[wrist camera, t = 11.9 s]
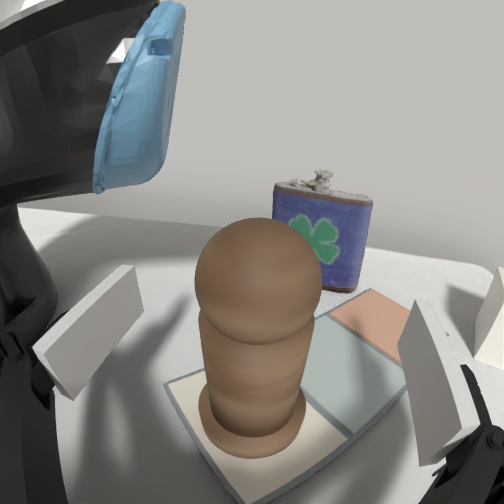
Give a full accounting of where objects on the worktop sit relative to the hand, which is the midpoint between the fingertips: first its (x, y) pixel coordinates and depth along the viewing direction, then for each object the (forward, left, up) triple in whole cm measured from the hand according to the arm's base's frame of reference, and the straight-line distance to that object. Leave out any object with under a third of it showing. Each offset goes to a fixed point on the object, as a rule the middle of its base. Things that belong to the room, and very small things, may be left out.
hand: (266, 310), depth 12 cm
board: (+1, +5, -6) cm, 8 cm away
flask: (-8, +12, -7) cm, 16 cm away
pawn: (+1, -2, -6) cm, 6 cm away
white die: (+11, +18, -7) cm, 22 cm away
